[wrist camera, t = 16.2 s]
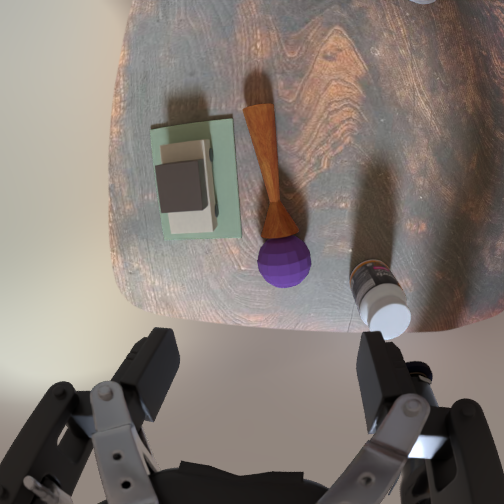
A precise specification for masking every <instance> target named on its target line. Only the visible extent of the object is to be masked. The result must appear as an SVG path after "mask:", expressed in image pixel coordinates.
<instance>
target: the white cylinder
mask: <svg viewBox="0 0 504 504" xmlns="http://www.w3.org/2000/svg"><path fill="white" fill-rule="evenodd" d="M410 1H412V2H415V3H419V4H431V3H433V2H434V1H436V0H410Z"/></svg>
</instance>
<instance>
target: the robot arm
mask: <svg viewBox="0 0 504 504" xmlns="http://www.w3.org/2000/svg"><path fill="white" fill-rule="evenodd" d="M179 364H180V355H179V351H178V347H177V344H176V340H175V336H174V332H173V330H172V329H170V328H159V327H155V328H154V329H153V330H152V331H151V333H150V334H149V336H148V338H147V337H144V338H142V339H141V340H140V341H138V342H137V343H136V344H135V345H134V346H133V348H132V349H131V351H130V353H129V354H128V355H127V357H126V359H125V360H124V361H123V363H122V364H121V366H120V367H119V369H118V370H117V372H116V373H115V375H114V376H113V378H112V379H111V381H104V382H101V383H99V384H97V385H96V386H94V388H93V389H92V390H91V391H76V390H75V389H74V387H73V385H72V384H71V383H69V382H65V381H62V382H58V383H55V384H54V385H52V386H51V387H50V388H49V389H48V391H47V392H46V394H45V395H44V397H43V398H42V399H41V401H40V403H39V404H38V405H37V407H36V408H35V410H34V411H33V413H32V414H31V416H30V417H29V419H28V420H27V422H26V423H25V425H24V426H23V428H22V429H21V431H20V433H19V434H18V436H17V437H16V439H15V440H14V442H13V444H12V445H11V447H10V449H9V450H8V452H7V454H6V455H5V457H4V459H3V461H2V462H1V464H0V504H73V501H72V499H71V496H72V494H73V491H74V489H75V487H76V484H77V482H78V480H79V478H80V475H81V473H82V471H83V469H84V467H85V464H86V462H87V460H88V458H89V456H90V454H91V451H92V449H93V448H94V452H95V457H96V461H97V466H98V470H99V474H100V478H101V481H102V485H103V488H104V492H105V495H106V500H104V501H102V502H100V503H98V504H380V503H381V502H382V500H383V499H384V497H385V495H386V494H387V493H388V491H389V490H390V488H391V487H392V488H391V490H390V492H389V494H388V495H390V493H391V491H392V489H393V487H394V486H395V484H396V483H397V481H398V479H399V476H400V474H401V475H402V480H401V484H400V498H401V504H504V473H503V469H502V466H501V462H500V459H499V456H498V452H497V450H496V446H495V444H494V440H493V437H492V435H491V432H490V429H489V426H488V424H487V421H486V418H485V416H484V413H483V410H482V408H481V407H480V405H479V404H478V403H477V402H475V401H474V400H471V399H460V400H458V401H456V402H455V403H454V404H453V405H452V407H451V408H446V407H439V406H438V403H437V401H436V399H435V396H434V394H433V391H432V389H431V387H430V384H429V383H431V380H429V379H428V378H427V376H426V374H425V373H423V372H421V371H410V372H409V371H408V368H406V363H405V361H404V360H403V356H402V354H401V351H400V349H399V348H398V347H397V346H396V345H395V344H394V343H393V342H385V341H384V338H383V335H382V333H381V331H368V332H363V333H362V336H361V341H360V346H359V351H358V357H357V364H356V366H357V367H356V369H357V376H358V381H359V386H360V391H361V397H362V402H363V407H364V412H365V418H366V424H367V431H368V434H374V433H375V434H374V435H373V437H372V438H371V440H368V441H367V442H366V443H365V445H364V446H363V447H362V449H361V450H360V451H359V453H358V454H357V455H356V457H355V458H354V459H353V461H352V462H351V463H350V464H349V466H348V467H347V468H346V470H345V471H344V472H343V473H342V474H341V476H340V477H339V478H338V479H337V480H336V482H335V483H334V484H333V485H332V486H331V488H327V487H325V486H323V485H321V484H319V483H317V482H314V481H311V480H307V479H303V474H304V473H303V472H274V471H272V472H266V473H260V474H252V475H244V476H238V475H234V474H232V473H229V472H226V471H223V470H220V469H217V468H215V467H212V466H209V465H202V464H196V463H190V462H185V461H181V463H180V466H179V468H170V469H165V470H162V471H161V469H160V467H159V466H158V464H157V462H156V460H155V458H154V455H153V453H152V450H151V448H150V445H149V443H148V440H147V437H146V435H145V432H144V429H143V427H142V424H143V421H144V420H146V421H151V422H154V421H155V419H156V416H157V414H158V412H159V410H160V408H161V405H162V403H163V401H164V399H165V397H166V394H167V392H168V390H169V388H170V386H171V383H172V381H173V379H174V377H175V375H176V373H177V370H178V368H179ZM65 425H66V426H67V427H68V429H67V431H66V432H65V434H64V436H63V438H62V439H61V441H60V443H59V445H57V440H58V437H59V435H60V434H61V432H62V430H63V428H64V427H65ZM392 485H393V486H392Z"/></svg>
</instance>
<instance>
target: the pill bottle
mask: <svg viewBox="0 0 504 504" xmlns="http://www.w3.org/2000/svg"><path fill="white" fill-rule="evenodd" d="M350 288H351V291H352V294H353V297H354V299H355V302H356V305H357V308H358V311H359V314H360V317H361V319H362V320H363V322H364V323H365V324H366V325H368V327H369V329H370V331H381V333H382V335H383V338H384V340H387V339H392V338H395V337H397V336H399V335H400V334H402V333H403V332H404V331H405V330H406V329H407V327H408V325H409V323H410V320H411V313H410V310H409V308H408V306H407V299H406V295H405V293H404V291H403V289H402V288H401V286H400V285H399V283H398V281H397V280H396V278H395V277H394V275H393V274H392V272H391V271H390V269H389V268H388V267H387V265H386V264H385V263H383V262H382V261H379V260H376V259H371V260H366V261H364V262H362V263H360V264H359V265H357V266H356V267H355V269H354V270H353V272H352V274H351V276H350Z"/></svg>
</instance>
